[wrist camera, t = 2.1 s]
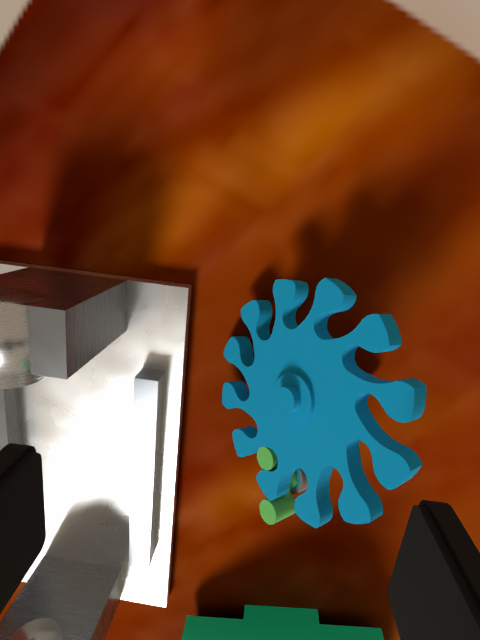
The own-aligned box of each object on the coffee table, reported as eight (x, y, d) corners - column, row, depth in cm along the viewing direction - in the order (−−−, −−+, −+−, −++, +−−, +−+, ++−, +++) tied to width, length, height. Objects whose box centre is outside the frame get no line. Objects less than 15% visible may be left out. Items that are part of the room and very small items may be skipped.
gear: (240, 245, 17) (464, 338, 10) (322, 258, 21) (527, 332, 14) (190, 447, 20) (332, 623, 13) (269, 426, 24) (413, 555, 17)
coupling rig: (192, 284, 19) (143, 328, 12) (169, 595, 25) (129, 739, 18) (-18, 257, 20) (-175, 284, 13) (10, 566, 26) (-86, 695, 19)
